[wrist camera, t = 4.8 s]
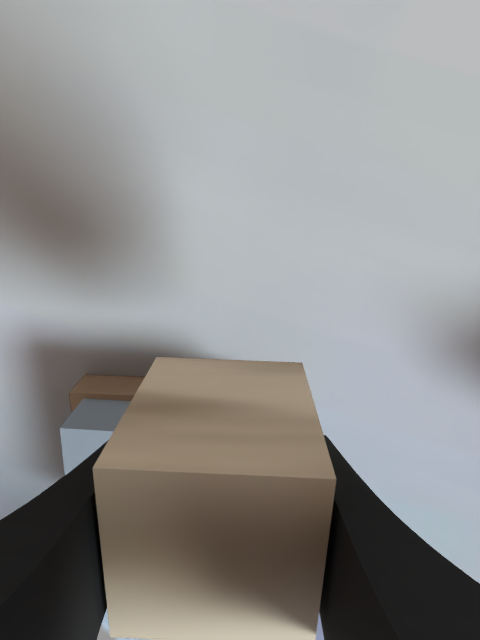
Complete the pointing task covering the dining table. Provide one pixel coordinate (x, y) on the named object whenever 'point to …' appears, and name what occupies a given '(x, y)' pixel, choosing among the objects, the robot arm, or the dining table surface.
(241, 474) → the birch block
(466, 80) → the dining table surface
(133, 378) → the walnut base block
